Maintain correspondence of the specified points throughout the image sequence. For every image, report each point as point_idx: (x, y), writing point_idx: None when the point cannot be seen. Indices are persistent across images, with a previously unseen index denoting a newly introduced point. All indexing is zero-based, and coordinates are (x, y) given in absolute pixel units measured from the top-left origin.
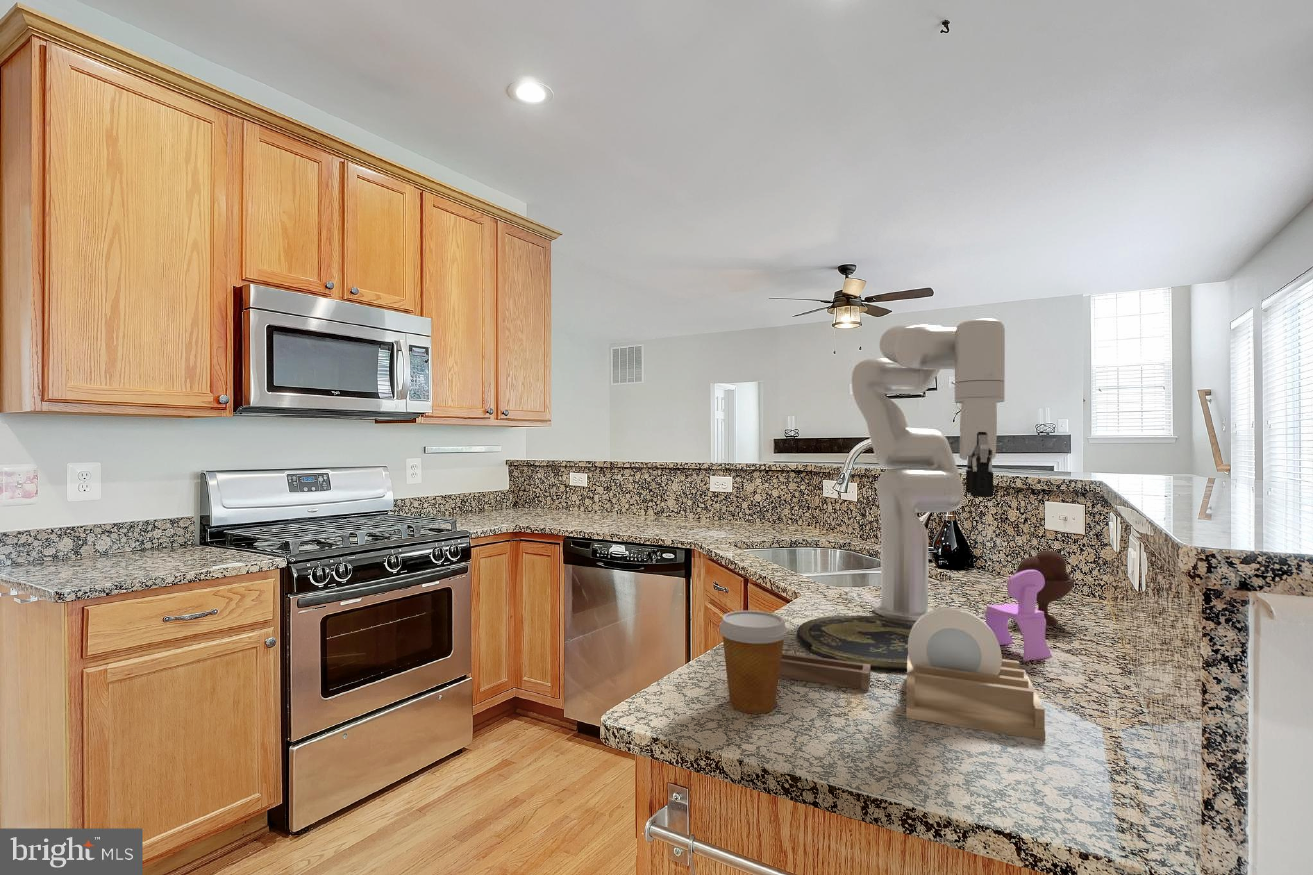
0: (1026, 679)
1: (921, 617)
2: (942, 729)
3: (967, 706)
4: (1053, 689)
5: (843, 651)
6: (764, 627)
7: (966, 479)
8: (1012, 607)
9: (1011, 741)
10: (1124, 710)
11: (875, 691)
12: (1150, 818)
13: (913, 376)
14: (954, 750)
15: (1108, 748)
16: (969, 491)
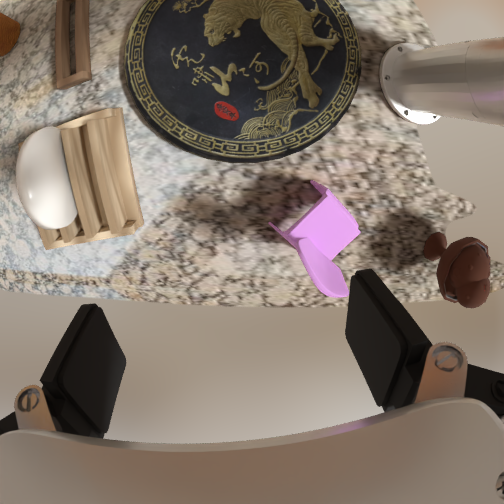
0: (67, 241)
1: (26, 148)
2: None
3: None
4: (176, 248)
5: (151, 25)
6: None
7: (386, 306)
8: (336, 230)
9: None
10: (157, 296)
11: (67, 95)
12: (13, 283)
13: None
14: (7, 187)
15: (72, 277)
16: (352, 282)
